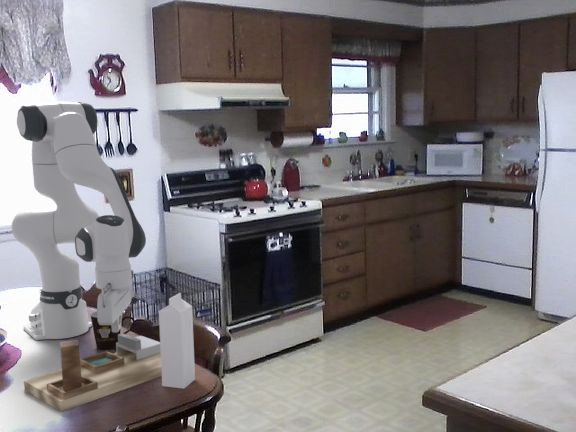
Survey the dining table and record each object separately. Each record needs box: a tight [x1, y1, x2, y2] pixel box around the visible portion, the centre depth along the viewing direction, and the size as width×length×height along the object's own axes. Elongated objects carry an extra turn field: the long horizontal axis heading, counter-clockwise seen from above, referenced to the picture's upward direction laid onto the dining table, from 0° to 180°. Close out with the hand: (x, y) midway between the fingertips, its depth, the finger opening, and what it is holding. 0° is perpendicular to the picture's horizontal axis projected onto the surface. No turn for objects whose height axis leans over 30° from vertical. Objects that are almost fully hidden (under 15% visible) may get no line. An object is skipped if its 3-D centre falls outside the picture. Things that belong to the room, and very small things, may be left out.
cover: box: [115, 332, 161, 360], centre depth 169 cm, size 10×8×5 cm
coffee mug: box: [89, 310, 136, 352], centre depth 181 cm, size 12×9×10 cm
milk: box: [158, 292, 196, 390], centre depth 153 cm, size 6×6×22 cm
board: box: [23, 350, 162, 413], centre depth 157 cm, size 18×33×4 cm, turn 138°
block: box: [59, 339, 82, 392], centre depth 145 cm, size 4×4×11 cm
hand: (116, 330), depth 164 cm, fingers closed
